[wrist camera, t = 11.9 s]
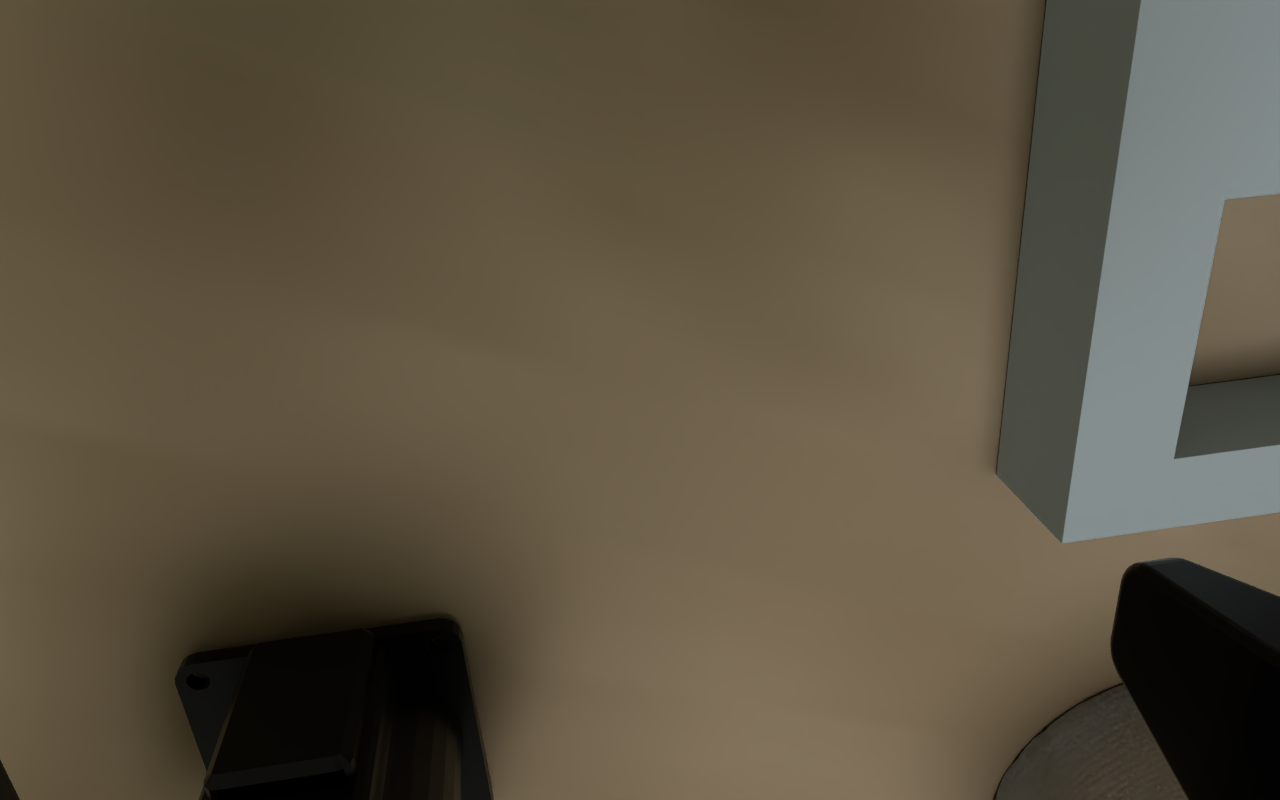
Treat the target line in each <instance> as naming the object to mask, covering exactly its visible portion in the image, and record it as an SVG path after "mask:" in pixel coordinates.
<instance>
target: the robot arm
mask: <svg viewBox="0 0 1280 800" xmlns="http://www.w3.org/2000/svg"><path fill="white" fill-rule="evenodd" d="M436 638H445V639H447V640H449V642H447V643H444V644H437V643H435V642H433V641H432V640H433V639H436ZM1111 655H1112V659H1113V663H1114V665H1115V668H1116V670H1117V673H1118V675H1119V676H1120V678H1121V680H1122V682H1123V684H1124V686H1125V687H1126V689H1127V691H1128V693H1129V695H1130V696H1131V698H1132V700H1133V702H1134V704H1135V705H1136V707H1137V709H1138V711H1139V713H1140V714H1141V716H1142V718H1143V720H1144V722H1145V723H1146V725H1147V727H1148V729H1149V731H1150V732H1151V734H1152V736H1153V738H1154V740H1155V742H1156V743H1157V745H1158V747H1159V749H1160V751H1161V752H1162V754H1163V756H1164V758H1165V760H1166V761H1167V763H1168V765H1169V767H1170V769H1171V770H1172V772H1173V774H1174V776H1175V778H1176V779H1177V781H1178V783H1179V785H1180V787H1181V788H1182V790H1183V792H1184V794H1185V796H1186V798H1187V799H1188V800H1280V597H1279V596H1276V595H1274V594H1271V593H1269V592H1266V591H1264V590H1261V589H1259V588H1256V587H1254V586H1251V585H1249V584H1246V583H1243V582H1241V581H1238V580H1236V579H1233V578H1231V577H1228V576H1226V575H1223V574H1221V573H1218V572H1216V571H1213V570H1210V569H1208V568H1205V567H1203V566H1200V565H1198V564H1195V563H1193V562H1190V561H1188V560H1185V559H1181V558H1166V559H1159V560H1152V561H1145V562H1139V563H1135V564H1133V565H1131V566H1129V567H1128V568H1127V570H1126V571H1125V572H1124V574H1123V577H1122V580H1121V585H1120V591H1119V596H1118V602H1117V607H1116V613H1115V618H1114V624H1113V629H1112V635H1111ZM193 673H203V674H205V675H207V676H208V678H199V677H197V676H195V675H194V674H193ZM175 684H176V687H177V690H178V693H179V695H180V698H181V701H182V704H183V706H184V709H185V712H186V715H187V717H188V720H189V723H190V726H191V729H192V731H193V734H194V737H195V740H196V742H197V745H198V748H199V751H200V753H201V756H202V759H203V762H204V764H205V767H206V770H207V773H206V776H205V779H204V786H203V789H202V792H201V795H200V798H199V800H494V798H493V792H492V787H491V782H490V776H489V771H488V766H487V761H486V755H485V750H484V745H483V739H482V734H481V729H480V724H479V718H478V713H477V708H476V702H475V697H474V692H473V686H472V681H471V676H470V671H469V665H468V660H467V655H466V649H465V644H464V639H463V633H462V631H461V628H460V626H459V625H458V624H456V623H455V622H454V621H451V620H449V619H431V620H424V621H417V622H410V623H403V624H396V625H389V626H382V627H375V628H368V629H356V630H349V631H342V632H335V633H328V634H321V635H314V636H307V637H299V638H292V639H285V640H278V641H271V642H264V643H259V644H256V645H248V646H241V647H234V648H227V649H220V650H213V651H206V652H199V653H195V654H192V655H189V656H188V657H186V658H185V659H184V660H183V661H182V663H181V665H180V668H179V670H178V672H177V675H176V677H175ZM0 800H20V799H19V797H18V795H17V793H16V791H15V789H14V787H13V785H12V783H11V781H10V779H9V777H8V775H7V773H6V771H5V769H4V767H3V764H2V762H1V760H0Z"/></svg>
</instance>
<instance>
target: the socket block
mask: <svg viewBox="0 0 1280 800" xmlns="http://www.w3.org/2000/svg"><path fill="white" fill-rule="evenodd" d="M1271 194H1280V0H1047V2H1046V12H1045V21H1044V31H1043V40H1042V49H1041V59H1040V68H1039V78H1038V87H1037V97H1036V106H1035V115H1034V125H1033V134H1032V144H1031V153H1030V163H1029V172H1028V181H1027V191H1026V200H1025V210H1024V219H1023V229H1022V238H1021V247H1020V257H1019V266H1018V276H1017V285H1016V294H1015V304H1014V313H1013V323H1012V332H1011V342H1010V351H1009V360H1008V370H1007V379H1006V389H1005V398H1004V408H1003V417H1002V426H1001V436H1000V445H999V455H998V464H997V474H996V475H997V476H998V477H999V478H1000V479H1001V480H1002V481H1003V482H1004V483H1005V484H1006V485H1007V486H1008V488H1009V489H1010V490H1011V491H1012V492H1013V493H1014V494H1015V495H1016V496H1017V497H1018V498H1019V499H1020V500H1021V501H1022V502H1023V503H1024V504H1025V505H1026V506H1027V507H1028V508H1029V509H1030V511H1031V512H1032V513H1033V514H1034V515H1035V516H1036V517H1037V518H1038V519H1039V520H1040V521H1041V522H1042V523H1043V524H1044V525H1045V526H1046V527H1047V528H1048V529H1049V530H1050V531H1051V532H1052V533H1053V535H1054V536H1055V537H1056V538H1057V539H1058V540H1059V541H1060V542H1061V543H1068V542H1075V541H1082V540H1089V539H1096V538H1103V537H1110V536H1117V535H1124V534H1131V533H1138V532H1145V531H1152V530H1159V529H1166V528H1173V527H1180V526H1187V525H1194V524H1200V523H1207V522H1214V521H1221V520H1228V519H1235V518H1242V517H1249V516H1256V515H1263V514H1270V513H1277V512H1280V375H1275V376H1267V377H1259V378H1252V379H1244V380H1236V381H1228V382H1221V383H1213V384H1205V385H1197V386H1190V387H1188V385H1189V379H1190V374H1191V369H1192V364H1193V359H1194V354H1195V349H1196V344H1197V339H1198V334H1199V329H1200V324H1201V319H1202V314H1203V308H1204V303H1205V298H1206V293H1207V288H1208V283H1209V278H1210V273H1211V268H1212V263H1213V258H1214V253H1215V248H1216V243H1217V238H1218V232H1219V227H1220V222H1221V217H1222V212H1223V207H1224V202H1225V199H1234V198H1243V197H1252V196H1262V195H1271Z"/></svg>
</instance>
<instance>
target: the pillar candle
mask: <svg viewBox="0 0 1280 800" xmlns="http://www.w3.org/2000/svg"><path fill="white" fill-rule="evenodd" d="M996 800H1188V799H1187V798H1186V796H1185V794H1184V792H1183V790H1182V788H1181V787H1180V785H1179V783H1178V781H1177V779H1176V778H1175V776H1174V774H1173V772H1172V770H1171V769H1170V767H1169V765H1168V763H1167V761H1166V760H1165V758H1164V756H1163V754H1162V752H1161V751H1160V749H1159V747H1158V745H1157V743H1156V742H1155V740H1154V738H1153V736H1152V734H1151V732H1150V731H1149V729H1148V727H1147V725H1146V723H1145V722H1144V720H1143V718H1142V716H1141V714H1140V713H1139V711H1138V709H1137V707H1136V705H1135V704H1134V702H1133V700H1132V698H1131V696H1130V695H1129V693H1128V691H1127V689H1126V687H1125V686H1124V684H1123V685H1120V686H1117V687H1114V688H1112V689H1110V690H1108V691H1106V692H1104V693H1102V694H1099V695H1097V696H1095V697H1093V698H1091V699H1090V700H1087V701H1086V702H1083V703H1081V704H1079V705H1077V706H1075V707H1074V708H1073V709H1071V710H1070V711H1068V712H1067V713H1066V714H1064V715H1063V716H1061V717H1060V718H1059V719H1057V720H1056V721H1055V722H1053V723H1052V724H1050V725H1049V726H1048V727H1047V729H1046V730H1045V731H1043V732H1042V733H1041V734H1039V735H1038V736H1037V737H1035V738H1034V739H1032V741H1031V742H1030V744H1029V745H1027V746H1026V747H1025V748H1024V750H1023V751H1022V752H1021V753H1020V755H1019V757H1018V759H1017V760H1016V761H1015V762H1014V763H1013V764H1012V765H1011V766H1010V767H1009V769H1008V770H1007V772H1006V773H1005V775H1004V777H1003V779H1002V781H1001V783H1000V786H999V788H998V791H997V796H996Z"/></svg>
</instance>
